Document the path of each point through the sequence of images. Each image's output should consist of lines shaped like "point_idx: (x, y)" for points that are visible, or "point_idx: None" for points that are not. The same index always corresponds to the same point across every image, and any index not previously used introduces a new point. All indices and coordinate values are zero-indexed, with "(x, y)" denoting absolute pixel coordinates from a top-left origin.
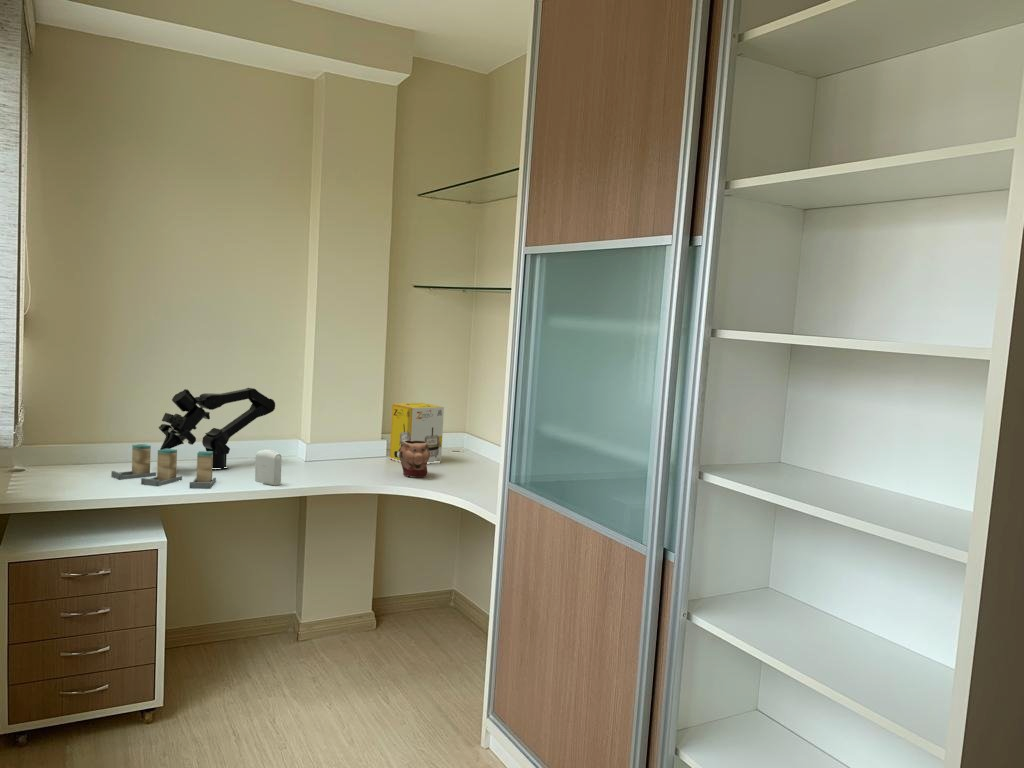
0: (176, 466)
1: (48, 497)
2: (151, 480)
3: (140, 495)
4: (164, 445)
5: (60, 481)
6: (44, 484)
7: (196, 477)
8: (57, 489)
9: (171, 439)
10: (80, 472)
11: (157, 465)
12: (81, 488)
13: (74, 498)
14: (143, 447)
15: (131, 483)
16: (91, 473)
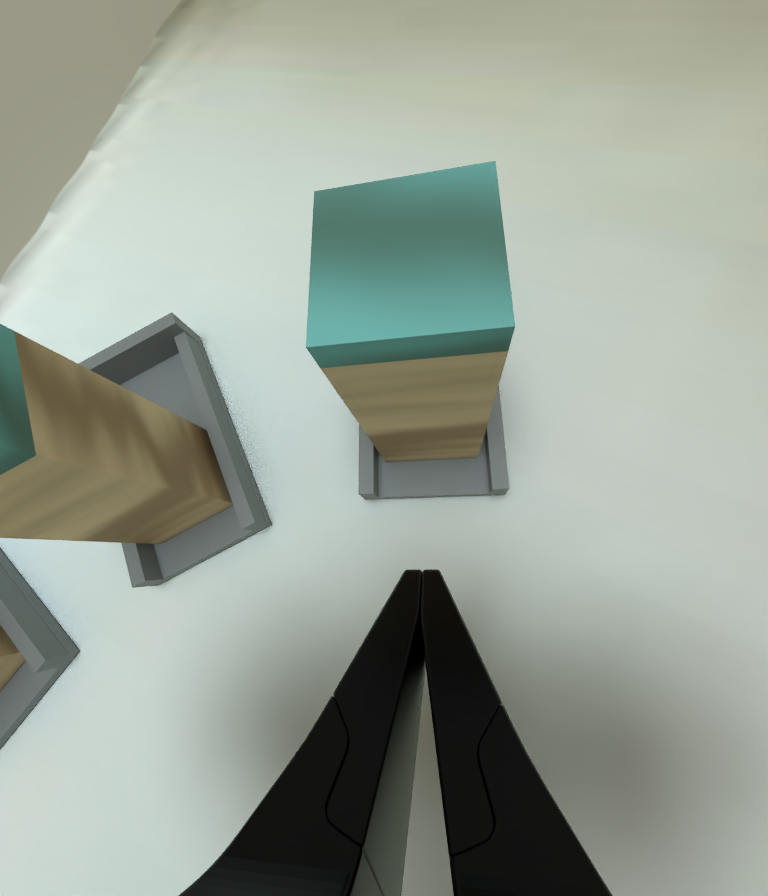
0: (69, 538)
1: (230, 25)
2: (111, 349)
3: (39, 275)
4: (376, 633)
5: (511, 66)
6: (473, 17)
7: (40, 657)
8: (342, 50)
9: (256, 849)
10: (758, 163)
11: (130, 391)
12: (306, 119)
13: (161, 85)
14: (315, 264)
15: (278, 315)
16: (692, 207)
